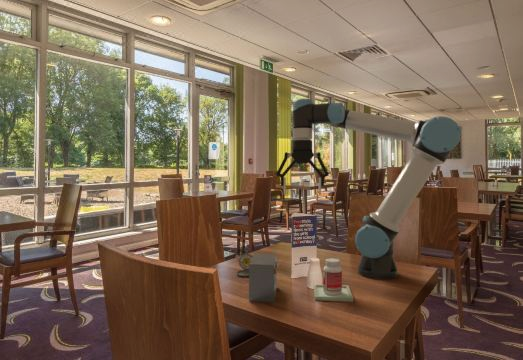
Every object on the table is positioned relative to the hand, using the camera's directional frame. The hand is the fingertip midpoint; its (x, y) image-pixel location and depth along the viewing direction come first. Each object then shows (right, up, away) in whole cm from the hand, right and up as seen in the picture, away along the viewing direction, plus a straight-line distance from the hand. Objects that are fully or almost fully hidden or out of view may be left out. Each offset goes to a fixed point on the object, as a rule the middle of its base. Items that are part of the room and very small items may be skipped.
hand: (302, 194), depth 145 cm
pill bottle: (+8, -32, -20) cm, 39 cm away
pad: (+8, -33, -20) cm, 39 cm away
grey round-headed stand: (-22, -32, +3) cm, 39 cm away
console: (-15, -33, -20) cm, 41 cm away
